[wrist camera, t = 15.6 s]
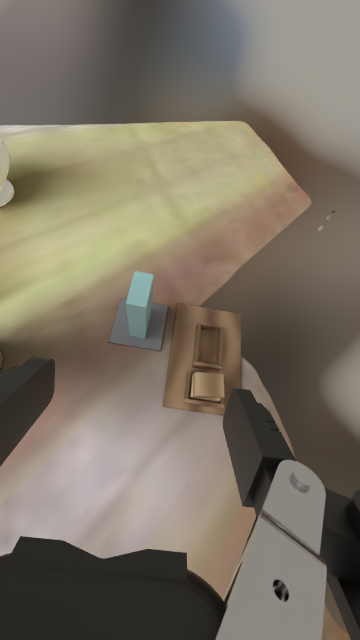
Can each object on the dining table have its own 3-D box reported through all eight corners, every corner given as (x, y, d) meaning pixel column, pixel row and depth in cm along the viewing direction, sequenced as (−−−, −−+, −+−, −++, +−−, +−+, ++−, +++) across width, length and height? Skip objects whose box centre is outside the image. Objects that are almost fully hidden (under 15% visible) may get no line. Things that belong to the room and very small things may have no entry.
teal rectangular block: (129, 336, 45) (125, 303, 34) (136, 309, 48) (134, 270, 36) (145, 338, 46) (146, 307, 34) (151, 312, 48) (153, 274, 37)
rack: (162, 406, 41) (163, 404, 38) (177, 304, 50) (179, 297, 48) (238, 417, 42) (245, 416, 39) (239, 315, 51) (245, 309, 49)
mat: (108, 342, 45) (108, 341, 44) (121, 298, 49) (121, 297, 49) (160, 351, 45) (160, 350, 45) (167, 306, 50) (168, 306, 49)
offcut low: (189, 397, 42) (191, 396, 40) (191, 375, 43) (193, 373, 41) (216, 402, 42) (220, 400, 40) (217, 379, 44) (221, 377, 42)
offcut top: (193, 397, 40) (195, 395, 38) (193, 374, 41) (195, 372, 39) (220, 398, 40) (224, 397, 38) (219, 376, 42) (223, 374, 40)
